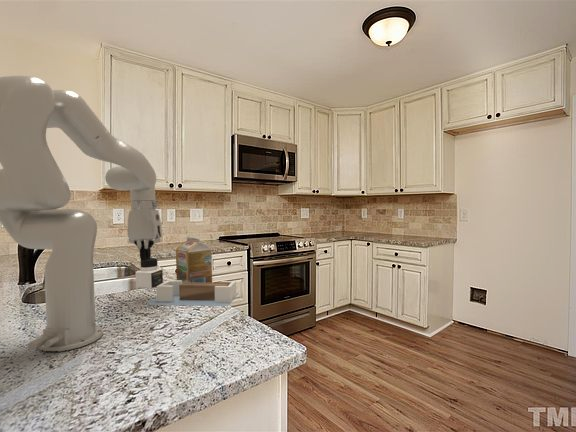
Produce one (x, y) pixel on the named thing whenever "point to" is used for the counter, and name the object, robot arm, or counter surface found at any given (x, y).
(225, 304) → the board
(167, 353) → the counter surface
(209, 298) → the brown rectangular block
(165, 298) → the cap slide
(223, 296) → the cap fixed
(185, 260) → the milk carton
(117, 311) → the counter surface
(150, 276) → the medicine bottle
